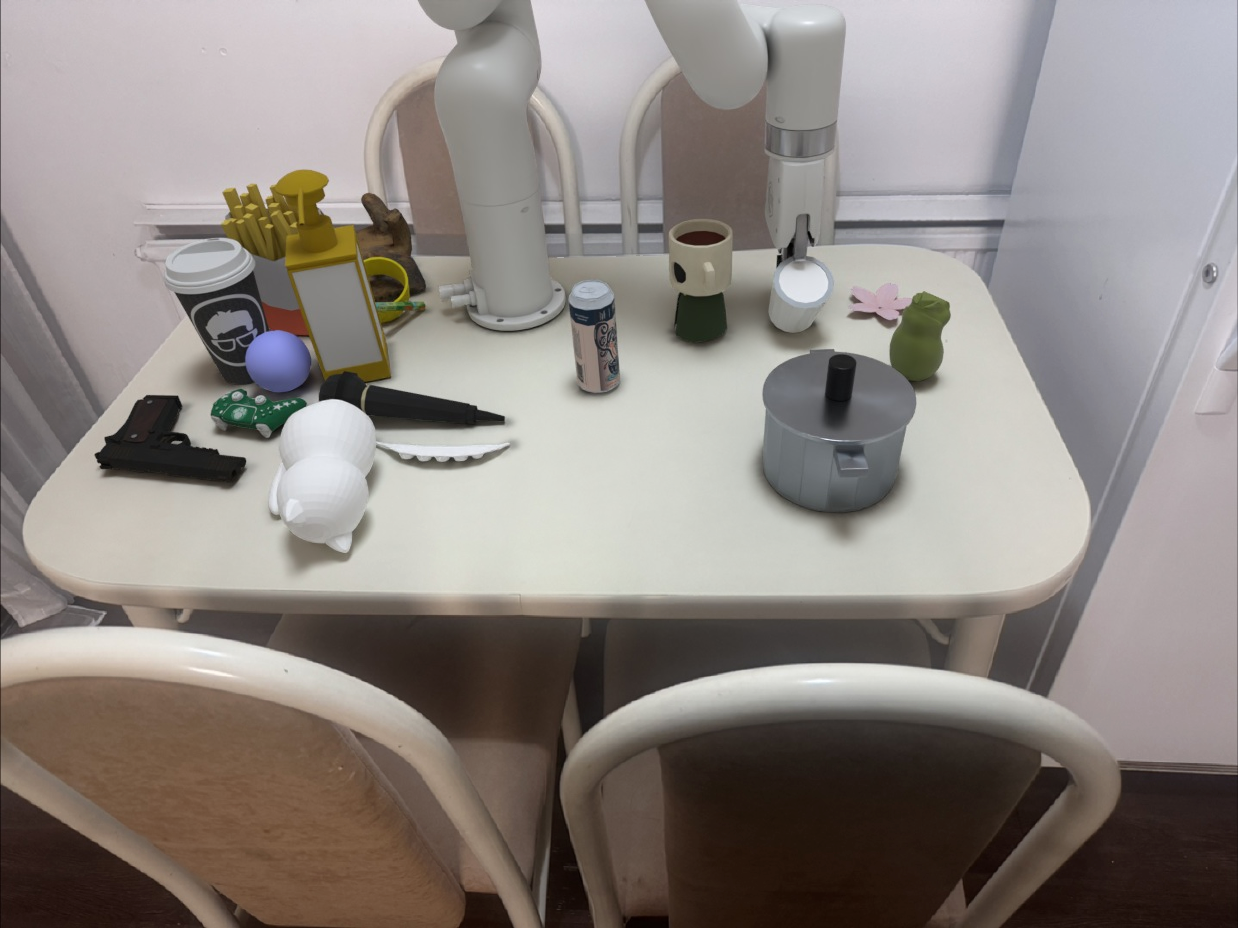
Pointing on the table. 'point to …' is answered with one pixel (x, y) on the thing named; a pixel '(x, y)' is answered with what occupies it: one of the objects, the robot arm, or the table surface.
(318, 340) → the soap bottle
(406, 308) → the pencil
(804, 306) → the white short cylinder
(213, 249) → the coffee cup
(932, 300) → the pear
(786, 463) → the pot
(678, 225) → the character mug
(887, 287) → the flower
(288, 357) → the sphere
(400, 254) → the figurine
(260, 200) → the french fries container
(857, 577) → the table surface
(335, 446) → the cat figurine
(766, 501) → the table surface
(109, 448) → the pistol
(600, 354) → the beer can
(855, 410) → the pot lid
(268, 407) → the gaming controller
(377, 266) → the bracelet
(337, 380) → the microphone
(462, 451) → the pea pod
